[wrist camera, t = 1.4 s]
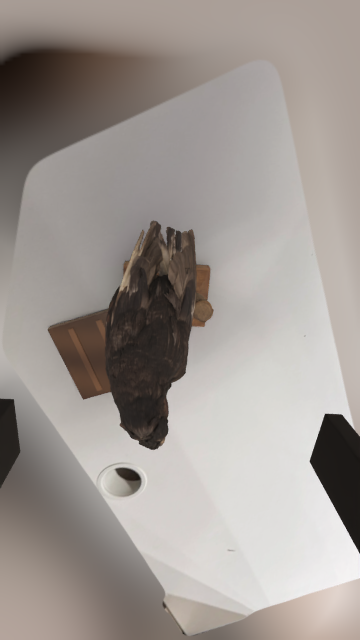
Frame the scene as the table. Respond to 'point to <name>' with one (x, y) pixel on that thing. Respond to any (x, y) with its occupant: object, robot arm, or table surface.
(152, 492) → the table surface
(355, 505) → the robot arm
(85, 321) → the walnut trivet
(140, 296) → the bird figurine
